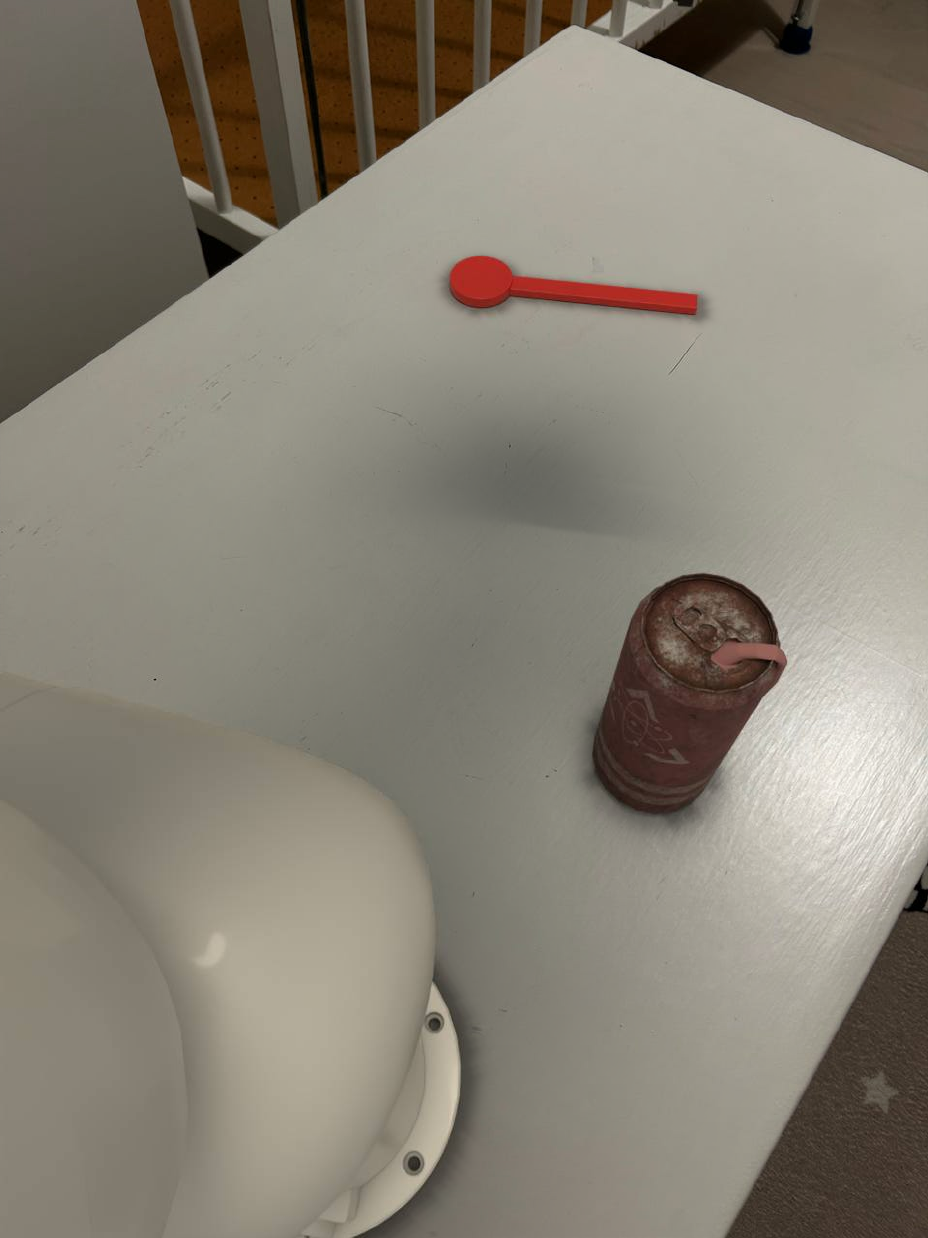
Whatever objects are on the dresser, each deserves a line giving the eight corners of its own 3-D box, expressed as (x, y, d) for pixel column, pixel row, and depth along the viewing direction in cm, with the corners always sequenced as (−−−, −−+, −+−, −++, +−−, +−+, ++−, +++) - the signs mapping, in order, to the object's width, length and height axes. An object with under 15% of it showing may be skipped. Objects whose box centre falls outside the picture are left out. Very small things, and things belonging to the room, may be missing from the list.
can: (709, 829, 49) (792, 713, 37) (583, 804, 49) (624, 682, 37) (717, 720, 52) (797, 579, 40) (599, 698, 52) (642, 553, 40)
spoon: (696, 285, 68) (698, 276, 68) (694, 330, 66) (697, 321, 65) (454, 261, 69) (454, 252, 69) (445, 304, 67) (445, 295, 67)
